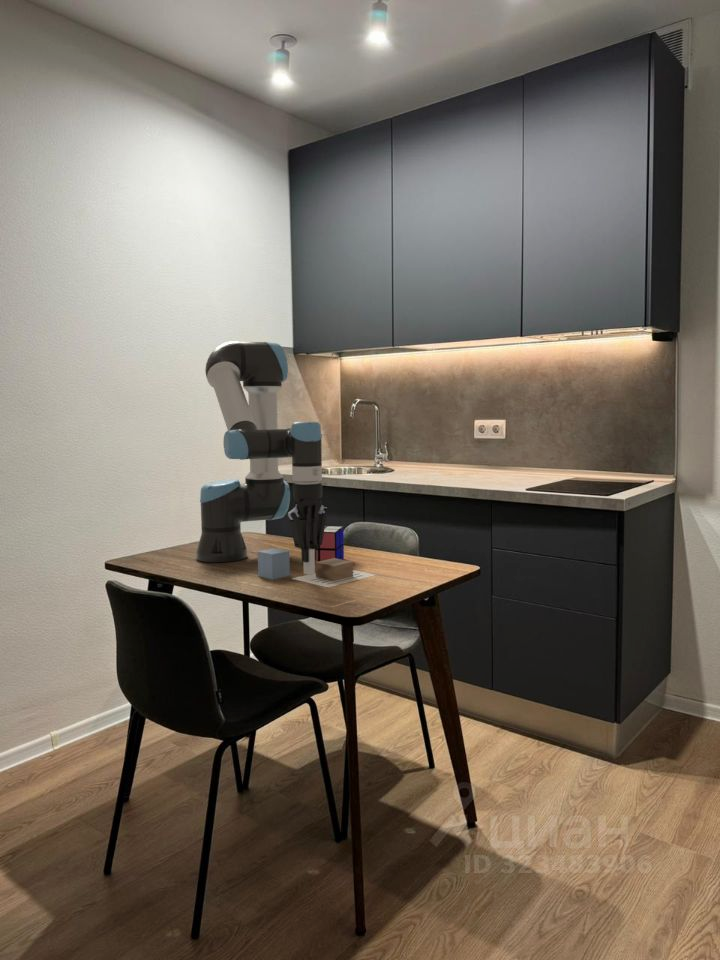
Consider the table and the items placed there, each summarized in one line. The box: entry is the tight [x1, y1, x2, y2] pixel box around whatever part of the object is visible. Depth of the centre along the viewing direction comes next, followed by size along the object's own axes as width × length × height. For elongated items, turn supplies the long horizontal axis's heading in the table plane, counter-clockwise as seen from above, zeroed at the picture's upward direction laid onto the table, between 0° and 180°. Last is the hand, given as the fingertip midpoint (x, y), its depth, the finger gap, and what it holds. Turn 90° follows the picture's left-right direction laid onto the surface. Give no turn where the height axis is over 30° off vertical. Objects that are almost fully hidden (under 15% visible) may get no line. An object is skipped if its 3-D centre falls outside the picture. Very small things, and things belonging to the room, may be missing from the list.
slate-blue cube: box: [257, 547, 291, 580], centre depth 196 cm, size 6×6×7 cm
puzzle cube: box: [315, 525, 345, 566], centre depth 213 cm, size 10×10×10 cm
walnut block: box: [315, 558, 354, 581], centre depth 194 cm, size 7×7×4 cm
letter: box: [291, 569, 376, 588], centre depth 194 cm, size 14×18×1 cm
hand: (309, 573), depth 187 cm, fingers closed
